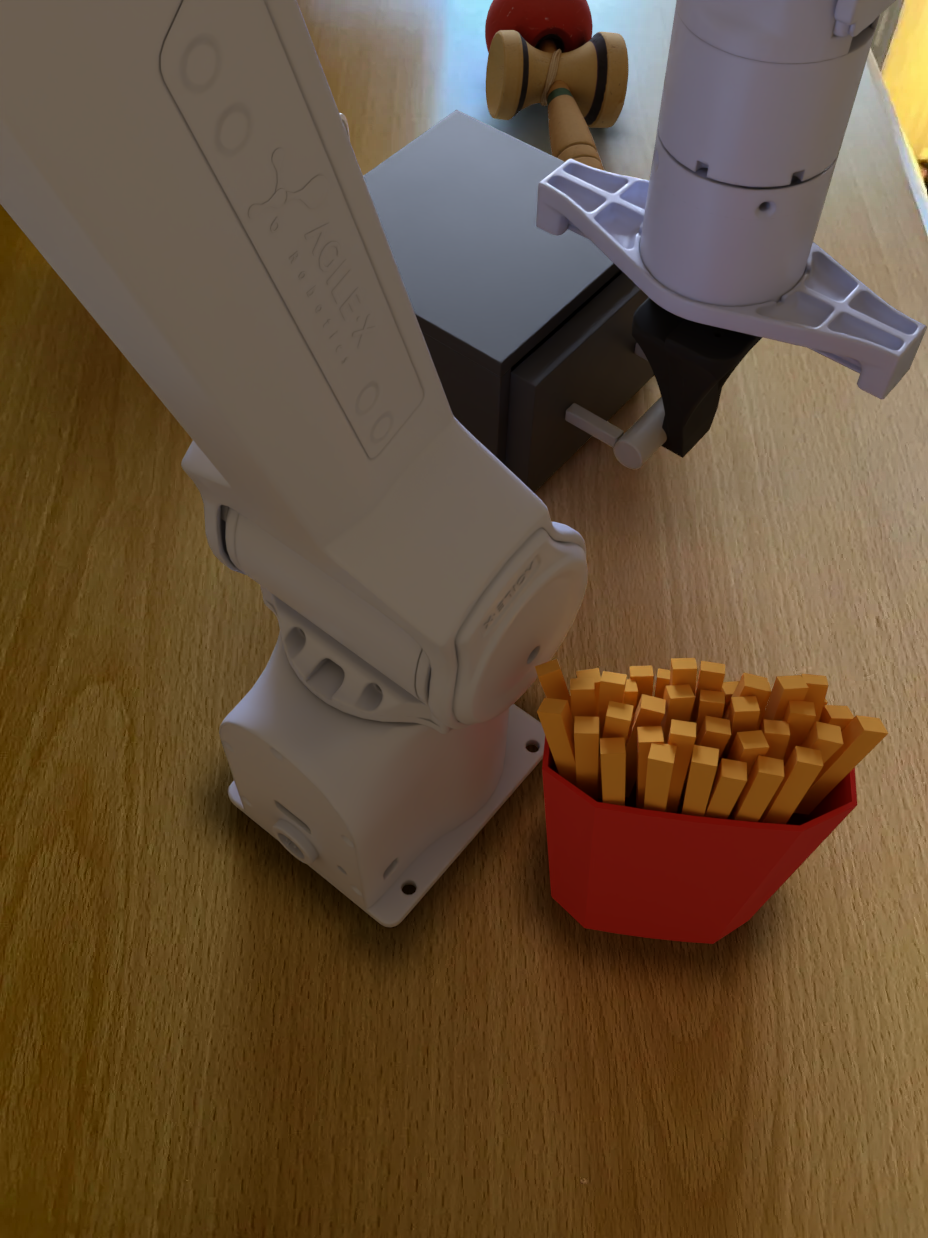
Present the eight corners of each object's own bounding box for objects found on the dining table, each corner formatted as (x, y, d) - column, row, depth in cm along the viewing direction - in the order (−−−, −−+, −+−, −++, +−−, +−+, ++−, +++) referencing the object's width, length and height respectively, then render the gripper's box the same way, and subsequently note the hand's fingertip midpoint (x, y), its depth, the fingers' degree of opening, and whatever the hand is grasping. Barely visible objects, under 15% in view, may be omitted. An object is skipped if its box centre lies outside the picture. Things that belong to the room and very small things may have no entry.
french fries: (774, 839, 42) (887, 640, 31) (777, 957, 39) (901, 787, 29) (517, 809, 42) (541, 603, 32) (505, 924, 40) (526, 744, 29)
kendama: (673, 254, 62) (600, 24, 69) (675, 163, 56) (595, -77, 64) (528, 288, 62) (472, 55, 70) (516, 201, 56) (455, -42, 64)
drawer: (733, 408, 52) (767, 289, 47) (601, 549, 48) (621, 435, 42) (482, 272, 57) (486, 150, 52) (341, 388, 53) (329, 268, 47)
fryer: (643, 364, 55) (671, 212, 48) (493, 509, 50) (501, 363, 43) (455, 262, 59) (456, 108, 52) (299, 387, 54) (277, 235, 47)
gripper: (1020, 162, 36) (888, 462, 47) (629, 5, 41) (594, 309, 52) (914, 280, 33) (799, 571, 44) (506, 93, 38) (496, 396, 49)
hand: (681, 435), depth 48 cm, fingers closed, pressing on drawer
